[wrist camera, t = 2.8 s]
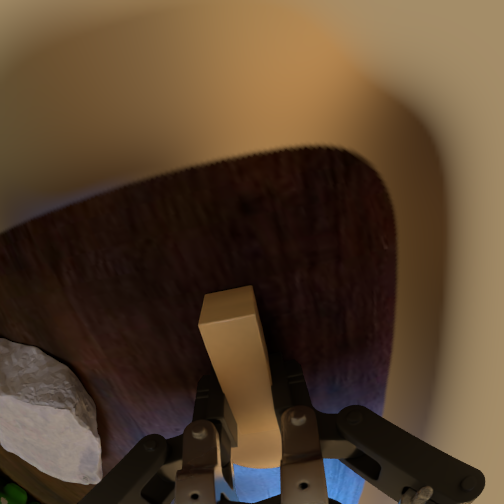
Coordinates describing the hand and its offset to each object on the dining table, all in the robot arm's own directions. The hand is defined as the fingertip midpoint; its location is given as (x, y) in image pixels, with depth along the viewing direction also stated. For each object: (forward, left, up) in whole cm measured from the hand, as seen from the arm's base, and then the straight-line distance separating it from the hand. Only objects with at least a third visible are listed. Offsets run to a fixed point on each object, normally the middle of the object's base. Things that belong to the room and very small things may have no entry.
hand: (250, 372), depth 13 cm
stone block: (+11, -10, 0) cm, 15 cm away
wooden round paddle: (0, 0, 0) cm, 1 cm away
